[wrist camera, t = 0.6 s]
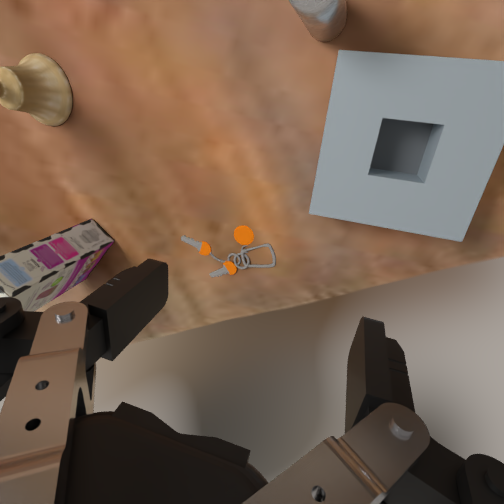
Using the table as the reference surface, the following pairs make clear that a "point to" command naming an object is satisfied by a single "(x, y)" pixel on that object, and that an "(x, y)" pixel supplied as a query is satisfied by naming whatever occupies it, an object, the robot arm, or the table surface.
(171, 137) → the table surface
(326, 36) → the pin
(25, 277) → the candy bar box
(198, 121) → the table surface
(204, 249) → the key chain
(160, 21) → the table surface
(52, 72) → the hand bell
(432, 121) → the bore block
